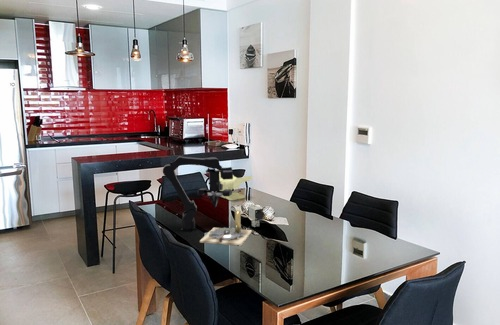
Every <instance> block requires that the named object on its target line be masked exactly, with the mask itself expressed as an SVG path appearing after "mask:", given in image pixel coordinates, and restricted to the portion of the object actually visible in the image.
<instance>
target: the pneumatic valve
mask: <svg viewBox="0 0 500 325" xmlns="http://www.w3.org/2000/svg"><path fill="white" fill-rule="evenodd" d="M247 207H248V209H247V214H248V215H247V216H248V218H250V219H252V220H251V227H254V228H256V227H258V228H259V227H260V221H263V218H264V217H265V214H264V209H263V208H262V207H261V206H257V205H249V206H247Z"/></svg>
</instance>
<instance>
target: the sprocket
mask: <svg viewBox="0 0 500 325" xmlns="http://www.w3.org/2000/svg"><path fill="white" fill-rule="evenodd" d="M241 215H242V213H241V210H235V211H234V227H230V228H229V227H222V228H223V229H215V231H211V230H209V231H210V233H211V234H209V236H212V239H219V238H222V240H228V241H231V240H232V239H237V240H238V239H239V237H244V232H241V228H242V227H241V224H242V223H241V222H242V221H241V218H242V217H241Z"/></svg>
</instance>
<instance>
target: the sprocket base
mask: <svg viewBox="0 0 500 325" xmlns="http://www.w3.org/2000/svg"><path fill="white" fill-rule="evenodd" d="M223 228H224V227H212V229H211V230H209V231H208V232H207V233H206V234H205V235H204V236H203V237H202V238H201V239H200V240H199V243H201V244H202V243H203V244H213V245H226V246H237V245H239V246H240V247H242V246H243V245H244V243H245V242H246V240H247V239H248V238H249V236H251V233H252V232H253V231H252V230H251V229H241V232H244V237H239V239H238V240H237V239H232V240H231V241H228V240H222V238H219V239H212V236H209V234H211V233H210V231H215V229H223ZM239 246H238V247H239Z"/></svg>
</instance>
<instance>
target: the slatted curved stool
mask: <svg viewBox="0 0 500 325" xmlns="http://www.w3.org/2000/svg"><path fill="white" fill-rule="evenodd" d="M219 179H220V183H221V184H223V190H225V189H231V190H232V191H233V190H236V189H239V188H240V186H241V184H242V183H245V182H248V181H252V180H253V176H252V175H250V176H243V177H237V176H235V175H234V174H233V179H225V180H223V179H222V178H221V176H220V172H219ZM223 190H220V191H223ZM220 198H223V199H226V200H228V201H235V200H241V199H245V198H246V197H245V194H242V193H239V192H232V194H231V195H230V196H223V195H222V196H221V197H220Z"/></svg>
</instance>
